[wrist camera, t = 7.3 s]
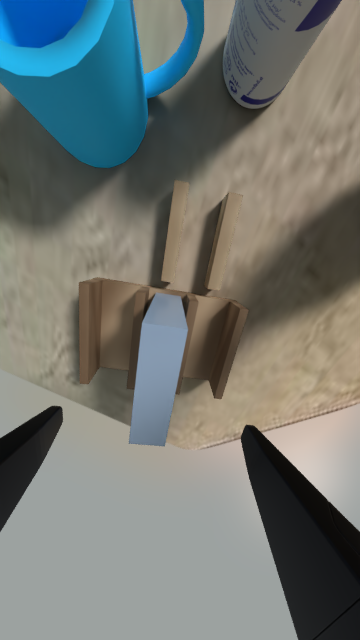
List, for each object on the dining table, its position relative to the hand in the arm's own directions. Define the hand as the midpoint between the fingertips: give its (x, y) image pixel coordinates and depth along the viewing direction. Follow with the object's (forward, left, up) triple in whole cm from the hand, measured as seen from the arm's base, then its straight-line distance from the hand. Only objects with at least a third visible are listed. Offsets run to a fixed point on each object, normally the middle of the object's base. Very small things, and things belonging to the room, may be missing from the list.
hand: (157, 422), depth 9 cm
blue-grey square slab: (0, 0, -11) cm, 11 cm away
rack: (0, +1, -12) cm, 12 cm away
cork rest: (-2, -9, -12) cm, 16 cm away
